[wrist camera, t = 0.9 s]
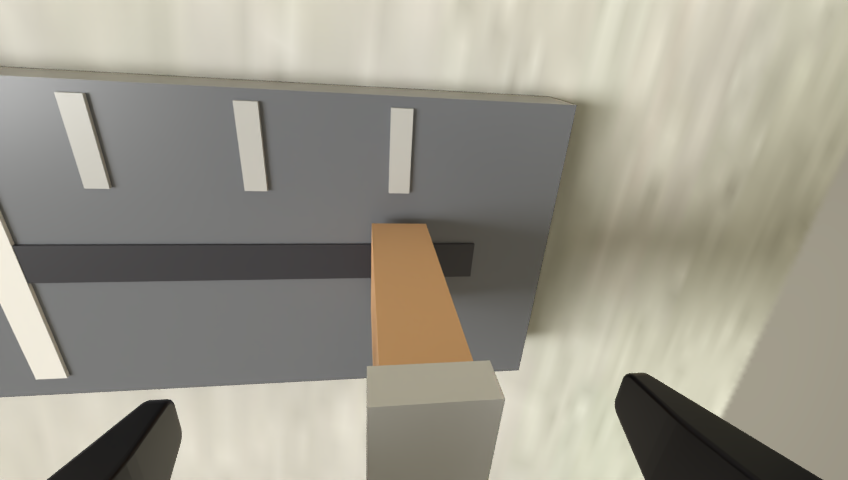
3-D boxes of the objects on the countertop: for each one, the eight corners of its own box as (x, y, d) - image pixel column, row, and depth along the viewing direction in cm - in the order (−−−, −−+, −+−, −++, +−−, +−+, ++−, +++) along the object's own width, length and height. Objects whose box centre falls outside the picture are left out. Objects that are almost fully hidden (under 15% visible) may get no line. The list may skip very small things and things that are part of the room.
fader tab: (425, 311, 13) (476, 533, 7) (364, 313, 13) (366, 546, 7) (432, 217, 12) (505, 398, 6) (364, 217, 12) (367, 408, 6)
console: (502, 337, 18) (519, 372, 16) (-91, 360, 14) (-158, 408, 13) (548, 96, 13) (578, 105, 11) (-287, 50, 10) (-436, 53, 8)
